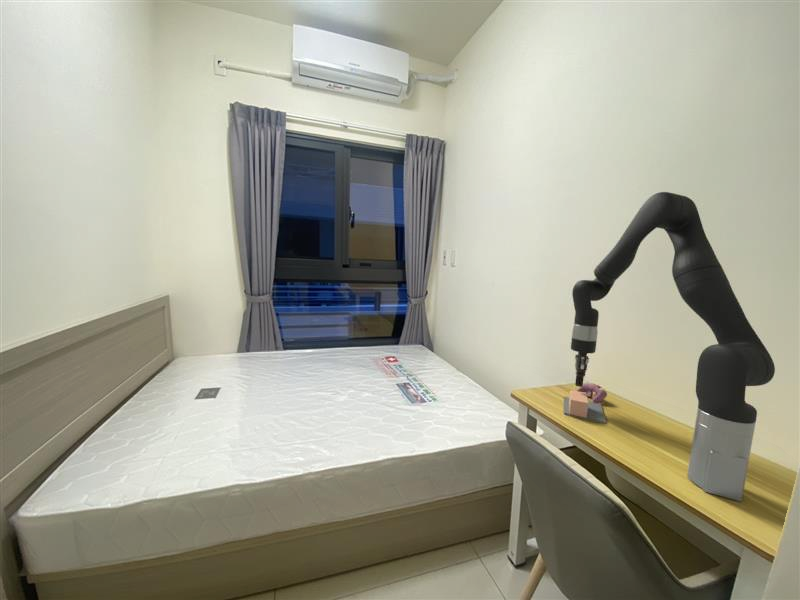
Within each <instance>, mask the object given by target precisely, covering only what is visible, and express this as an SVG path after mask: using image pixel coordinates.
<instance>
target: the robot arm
mask: <svg viewBox="0 0 800 600" xmlns="http://www.w3.org/2000/svg"><path fill="white" fill-rule="evenodd" d="M657 228H658V229H661V230H664V231H665V232H666V234H667V235H668V237H669V239H670V241H671V243H672V245H673V249H674V250H673V251H674V256H673V260H672V267H671V274H672V278H673V281H674V283H675V286H676V288H677V290H678V292H679V295H680V297H681V298H682V300H683V301H684V303H686V305H687V306H688V307H689V308H690V309H691V310H692V311H693V312H694V313H695V314H696V315H697V316H699V318H700V319H702V320H703V321H704V322H705V324H706V325H707V326H709V328H710V330H711V331H712V333H713V335H714V337H715V340H716V341H717V343H716V344H711V345H709V346H707V347H705V348H704V349H703V350H702V352H701V353H700V355H699V358H698V361H697V368H696V370H697V371H696V381H695V395H696V398H697V400H698V401H697V402H698V403H697V413H696V418H695V421H694V422H695V423H694V430H693V436H692V442H691V450H690V455H689V462H688V469H687V477H688V479H689V480H690V482H692V483H693V484H695V485H696V486H697V487H699V488H700V489H702V491H704V492H706V493H709V494H712V495H716V496H719V497H723V498H727V499H730V500H734V501H738V502H742V500H743V496H744V490H745V485H746V480H747V479H746V478H747V473H748V468H749V463H750V456H751V451H752V444H753V439H754V434H755V428H756V422H757V417H758V410H757V409H756V408H755V406H754V405H751V404H750V403H748V402H746V389H747V388H746V387H759V386H764V385H767V384H768V383H770V382H771V381H772V379H773V378H774V376H775V373H776V372H775V371H776V367H775V363H774V361H773V358H772V356H771V354H770V353H769V350H768V349H767V347H766V346H765V345H764V343H763V342H762V341H761V339H760V337H759V335H758V334H757V333H756V331H755V330H754V328H753V327H752V325H751V323H750V321H749V320H748V318H747V317H746V314H745V312H744V311H743V310H744V309H743V308H742V306H741V304H740V302H739V300H738V299H737V297H736V296H737V295H735V292H734V290H733V288H732V286H731V283H730V281H729V279H728V277H727V274H726V273H725V270H724V268H723V266H722V265H721V263H720V261H719V258H718V257H717V255H716V254H715V251H714V249H713V247H712V245H711V243H710V241H709V239H708V238H707V235H706V233H705V232H706V231H705V230H704V227H703V223H702V220H701V217H700V214H699V211H698V207H697V205H696V203H695V202H694V200H693V199H691V198H690V197H688V196H686V195H681V194H677V193H675V192H674V193H673V192H668V191H661V192H657V193H655V194H652V195H651V196H650V197H649V198H648V199H646V200H645V201H644V203H643V204H642V206H641V207H640V208H639V210H638V211H637V212H636V214H635V215H634V217H633V219H632V220H631V222H630V223H629V224H628V226H627V228H626V229H625V230H624V232H623V234H622V235H621V237H620V238H619V240H618V241H617V243H616V244H615V245H614V247H612V249H611V250H610V251H609V253H608V254H607V255H606V256H605V257H603V259H602V260H601V261H600V262H599V263H598V264H597V265H596V267H595V269H594V270H593V274H594V277H595V278H594V279H593V280H592V279H591V280H589V279H582V280H578V281H577V282H576V283H575V284H574V286H573V288H572V293H571V295H572V300H573V307H574V311H575V314H574V322H573V328H572V334H571V342H570V349H571V351H573V352H577V354H575V356H574V359H575V361H574V362H575V365H574V367H575V381H574V382H575V386H576V387H579V388H580V387H582V386H583V385H584V377H586V372H587V370H588V364H589V362H590V358H589V356H588V355H587V354H595V353H596V351H597V340H598V326H599V325H598V324H599V318H600V317H599V316H600V315H599V310H598V309H596V308H595V307H594V308H593V306H592V302H596V301H600V300H602V299H603V298H606V296H607V295H608V293H610V291H611V289H612V288H613V286H614V284H615V282H616V280H618V279H619V278H620V277H621V276H622V274H624V273H625V271H627V270H628V269H629V268H630V266H632V264H633V262H634V260H635V259H636V258H635V257H636V255H637V252H638V250H639V248H640V247H639V246H640V245H641V243H642V242H643V241H644V240H645V238H646V237H647V236H648V235H650V234H651V232H653V231H654V230H656V229H657Z"/></svg>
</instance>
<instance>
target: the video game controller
mask: <svg viewBox="0 0 800 600" xmlns="http://www.w3.org/2000/svg"><path fill="white" fill-rule="evenodd" d="M576 391H578V392H584V393H586V394H587V398H591V399H592V402H593V403H598V404H601V402H602V401H603V400H604V399H606V398H607V395H608V393H607V391H606V390H605V389H604V388H603V387H602V386H600V385H599V384H596V383H594V382H593V383H592V382H585V383H583V386H582V387H579V388H577V389H576Z"/></svg>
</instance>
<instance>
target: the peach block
mask: <svg viewBox="0 0 800 600" xmlns="http://www.w3.org/2000/svg"><path fill="white" fill-rule="evenodd" d="M588 402H589V400H588V396H587V394H586V392H585V393H584V392H578V391H577V390H573V389H570V391H569V414H572V415H576V416H581V417H585V418H587V410H588Z"/></svg>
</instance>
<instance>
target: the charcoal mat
mask: <svg viewBox="0 0 800 600" xmlns="http://www.w3.org/2000/svg"><path fill="white" fill-rule="evenodd" d="M569 397H570V396H569ZM569 397H568V396H563V415H564V414H565V415H566V416H569V417H573V418H578V419H583V420H587V421H592V422H596V423H600V424H607V420H606V417H605V414H604V413H605V412H604V410H603V407H602V403H593V401H588V410H587V418H585V417H581V416H576V415H572V414H569Z"/></svg>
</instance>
